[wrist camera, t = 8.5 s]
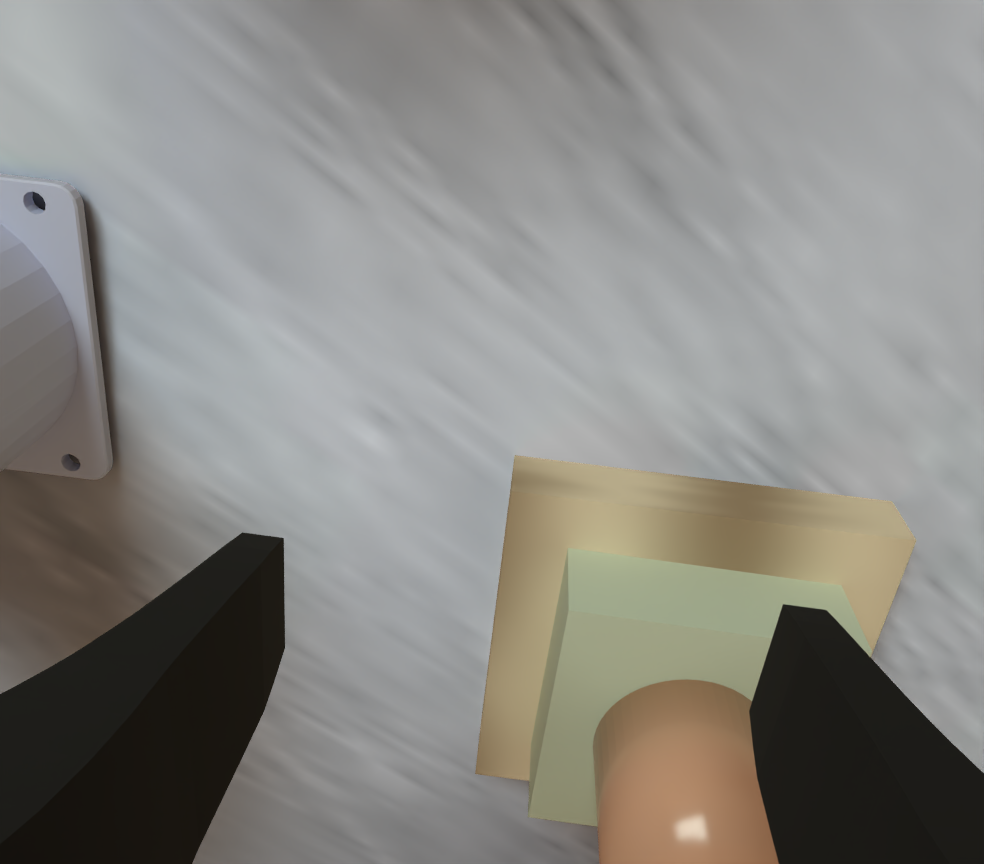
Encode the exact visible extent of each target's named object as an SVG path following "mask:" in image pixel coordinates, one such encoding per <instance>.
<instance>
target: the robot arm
mask: <svg viewBox="0 0 984 864" xmlns="http://www.w3.org/2000/svg"><path fill="white" fill-rule="evenodd" d="M33 192H36V193H38V194H40V195H41V196H42V197H43V199H44V201H45V204H46V206H45V210H42V209H39V208H38V207H37V206H36V205H35V204H34V201H33V199H32V196H33ZM68 454H71V455H74V456H75V457H76V458H78V459H79V462H80V464H77V463H74V462H73V461H72V460H71V459H70V457H69V455H68ZM112 466H113V456H112V447H111V439H110V430H109V421H108V412H107V404H106V395H105V386H104V377H103V369H102V360H101V351H100V342H99V334H98V325H97V316H96V307H95V298H94V290H93V281H92V272H91V263H90V255H89V246H88V237H87V228H86V220H85V211H84V204H83V200H82V197H81V195H80V194H79V192H78V191H77V190H76V189H75V188H74V187H73V186H71V185H70V184H69V183H66V182H63V181H58V180H50V179H41V178H33V177H24V176H16V175H8V174H0V472H1V471H2V470H3V469H8V470H16V471H24V472H32V473H40V474H48V475H56V476H64V477H72V478H80V479H88V480H99V479H101V478H103V477H104V476H105V475H106V474H107V473H108V472H109V471H110V470H111V468H112ZM284 649H285V615H284V538H279V537H271V536H264V535H256V534H249V533H241V534H240V535H239V536H237V537H236V538H235V539H233V540H232V541H230V542H229V543H228V544H226V545H225V546H224V547H222V548H221V549H220V550H218V551H217V552H216V553H214V554H213V555H212V556H211V557H209V558H208V559H207V560H205V561H204V562H203V563H201V564H200V565H199V566H198V567H196V568H195V569H194V570H192V571H191V572H190V573H188V574H187V575H186V576H185V577H183V578H182V579H181V580H179V581H178V582H177V583H175V584H174V585H173V586H171V587H170V588H169V589H167V590H166V591H165V592H163V593H162V594H160V595H159V596H158V597H156V598H155V599H154V600H152V601H151V602H150V603H148V604H147V605H145V606H144V607H143V608H141V609H140V610H139V611H137V612H136V613H134V614H133V615H132V616H130V617H129V618H127V619H126V620H124V621H123V622H121V623H120V624H118V625H117V626H115V627H114V628H112V629H111V630H109V631H108V632H106V633H105V634H103V635H102V636H100V637H99V638H97V639H95V640H94V641H92V642H91V643H89V644H88V645H86V646H85V647H83V648H82V649H80V650H78V651H77V652H75V653H74V654H72V655H70V656H69V657H67V658H65V659H64V660H62V661H60V662H58V663H57V664H55V665H53V666H52V667H50V668H48V669H46V670H44V671H43V672H41V673H39V674H37V675H35V676H33V677H32V678H30V679H28V680H26V681H24V682H23V683H21V684H19V685H17V686H15V687H13V688H11V689H9V690H8V691H6V692H4V693H2V694H0V864H192V862H193V860H194V858H195V855H196V853H197V851H198V848H199V846H200V844H201V842H202V840H203V838H204V836H205V834H206V832H207V830H208V828H209V825H210V823H211V821H212V819H213V817H214V815H215V813H216V811H217V809H218V807H219V805H220V803H221V800H222V798H223V796H224V794H225V792H226V790H227V788H228V786H229V784H230V782H231V780H232V778H233V775H234V773H235V771H236V769H237V767H238V765H239V763H240V761H241V759H242V757H243V755H244V752H245V750H246V748H247V746H248V744H249V742H250V740H251V738H252V735H253V733H254V731H255V729H256V727H257V725H258V723H259V721H260V718H261V716H262V714H263V712H264V710H265V707H266V704H267V701H268V698H269V695H270V692H271V689H272V686H273V683H274V680H275V677H276V674H277V671H278V668H279V665H280V661H281V658H282V655H283V652H284ZM749 715H750V724H751V733H752V742H753V751H754V758H755V766H756V773H757V779H758V783H759V788H760V792H761V796H762V800H763V804H764V808H765V812H766V816H767V820H768V824H769V828H770V832H771V835H772V839H773V843H774V847H775V851H776V855H777V858H778V862H779V864H984V773H983V772H982V771H981V770H979V769H978V768H977V767H976V766H975V765H974V764H973V763H972V762H971V761H970V760H969V759H968V758H967V757H966V756H965V755H964V754H963V753H962V752H961V751H960V750H958V749H957V748H956V747H955V746H954V745H953V744H952V743H951V742H950V741H949V740H948V739H947V738H946V737H945V736H944V735H943V734H942V733H941V732H940V731H939V730H938V729H937V728H936V727H935V726H934V725H933V724H932V723H931V722H930V721H929V720H928V719H927V718H926V717H925V716H924V715H923V713H922V712H921V711H920V710H919V709H918V708H917V707H916V706H915V705H914V704H913V703H912V702H911V701H910V700H909V699H908V698H907V697H906V696H905V695H904V694H903V692H902V691H901V690H900V689H899V688H898V687H897V686H896V685H895V684H894V683H893V682H892V681H891V679H890V678H889V677H888V676H887V675H886V674H885V673H884V672H883V671H882V670H881V669H880V667H879V666H878V665H877V664H876V663H875V662H874V661H873V660H872V659H871V658H870V656H869V655H868V654H867V653H866V652H865V651H864V650H863V649H862V648H861V646H860V645H859V644H858V643H857V642H856V641H855V640H854V639H853V638H852V637H851V635H850V634H849V633H848V632H847V631H846V630H845V629H844V628H843V627H842V626H841V625H840V624H839V622H838V621H837V620H836V619H835V618H834V617H833V616H832V615H831V614H830V613H829V612H828V611H827V610H824V609H816V608H808V607H801V606H793V605H786V604H783V606H782V609H781V612H780V615H779V618H778V622H777V625H776V628H775V631H774V634H773V637H772V640H771V643H770V647H769V650H768V653H767V656H766V659H765V662H764V665H763V669H762V672H761V675H760V678H759V681H758V684H757V687H756V691H755V694H754V697H753V700H752V703H751V706H750V709H749Z"/></svg>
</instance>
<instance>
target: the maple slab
mask: <svg viewBox="0 0 984 864" xmlns="http://www.w3.org/2000/svg"><path fill="white" fill-rule="evenodd" d="M915 543H916V539H915V538H914V536H913V534H912V533H911V531H910V530H909V528H908V526H907V525H906V523H905V522H904V520H903V518H902V517H901V515H900V513H899V512H898V510H897V509H896V507H895V505H894V504H893V502H892V501H884V500H876V499H868V498H859V497H851V496H843V495H835V494H827V493H819V492H810V491H802V490H794V489H786V488H778V487H770V486H761V485H753V484H745V483H737V482H729V481H721V480H712V479H704V478H696V477H688V476H680V475H672V474H663V473H655V472H647V471H639V470H631V469H622V468H614V467H606V466H598V465H590V464H582V463H573V462H565V461H557V460H549V459H541V458H533V457H524V456H516V455H515V457H514V465H513V473H512V481H511V489H510V497H509V505H508V513H507V521H506V529H505V537H504V545H503V553H502V561H501V569H500V577H499V585H498V593H497V601H496V608H495V616H494V624H493V632H492V640H491V648H490V656H489V664H488V672H487V680H486V688H485V696H484V704H483V712H482V720H481V728H480V736H479V745H478V754H477V763H476V772H475V774H480V775H488V776H495V777H503V778H511V779H519V780H527V781H529V777H530V752H531V741H532V736H533V730H534V725H535V720H536V714H537V709H538V704H539V699H540V693H541V688H542V683H543V677H544V672H545V667H546V662H547V656H548V651H549V646H550V640H551V635H552V630H553V625H554V619H555V614H556V609H557V603H558V598H559V593H560V588H561V582H562V577H563V572H564V566H565V561H566V556H567V550H568V548H573V549H580V550H588V551H595V552H602V553H609V554H617V555H624V556H631V557H639V558H646V559H653V560H661V561H668V562H675V563H683V564H690V565H697V566H704V567H712V568H719V569H726V570H733V571H740V572H748V573H755V574H762V575H769V576H777V577H784V578H791V579H798V580H806V581H813V582H820V583H827V584H835V585H842V587H843V590H844V592H845V594H846V596H847V598H848V600H849V603H850V605H851V607H852V609H853V611H854V613H855V616H856V618H857V620H858V622H859V624H860V626H861V629H862V631H863V633H864V635H865V637H866V639H867V642H868V644H869V646H870V648H871V650H872V653H873V650H874V648H875V645H876V643H877V640H878V637H879V635H880V632H881V630H882V627H883V625H884V622H885V619H886V617H887V614H888V612H889V609H890V607H891V604H892V602H893V599H894V596H895V594H896V591H897V589H898V586H899V584H900V581H901V579H902V576H903V573H904V571H905V568H906V566H907V563H908V561H909V558H910V555H911V553H912V550H913V548H914V545H915ZM871 655H872V654H871ZM870 658H871V657H870Z"/></svg>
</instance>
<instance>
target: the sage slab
mask: <svg viewBox="0 0 984 864" xmlns="http://www.w3.org/2000/svg"><path fill="white" fill-rule="evenodd" d="M783 604H786V605H793V606H801V607H808V608H816V609H824V610H827V611H828V612H829V613H830V614H831V615H832V616H833V617H834V618H835V619H836V620H837V621H838V622H839V624H840V625H841V626H842V627H843V628H844V629H845V630H846V631H847V632H848V633H849V634H850V635H851V637H852V638H853V639H854V640H855V641H856V642H857V643H858V644H859V645H860V646H861V648H862V649H863V650H864V651H865V652H866V653H867V654H868V655H869V656H870V657H871V654H872V650H871V648H870V646H869V644H868V642H867V639H866V637H865V635H864V633H863V631H862V629H861V626H860V624H859V622H858V620H857V618H856V616H855V613H854V611H853V609H852V607H851V605H850V603H849V600H848V598H847V596H846V594H845V592H844V590H843V587H842V585H835V584H827V583H820V582H813V581H806V580H798V579H791V578H784V577H777V576H769V575H762V574H755V573H748V572H740V571H733V570H726V569H719V568H712V567H704V566H697V565H690V564H683V563H675V562H668V561H661V560H653V559H646V558H639V557H631V556H624V555H617V554H609V553H602V552H595V551H588V550H580V549H573V548H568V550H567V556H566V561H565V566H564V572H563V577H562V582H561V588H560V593H559V598H558V603H557V609H556V614H555V619H554V625H553V630H552V635H551V640H550V646H549V651H548V656H547V662H546V667H545V672H544V677H543V683H542V688H541V693H540V699H539V704H538V709H537V714H536V720H535V725H534V730H533V736H532V741H531V752H530V777H529V802H528V817H531V818H538V819H545V820H553V821H560V822H567V823H574V824H581V825H588V826H596V827H597V811H596V794H595V777H594V759H593V739H594V735H595V731H596V729H597V727H598V724H599V722H600V721H601V719H602V718H603V716H604V715H605V713H606V712H607V711H608V710H609V709H610V708H611V707H612V706H613V705H614V704H615V703H617V702H618V701H619V700H620V699H622V698H623V697H625V696H626V695H628V694H630V693H632V692H634V691H636V690H638V689H640V688H643V687H645V686H648V685H651V684H655V683H659V682H664V681H671V680H687V679H688V680H701V681H707V682H713V683H716V684H720V685H723V686H726V687H728V688H731V689H733V690H735V691H737V692H739V693H741V694H742V695H744V696H745V697H747V698H748V699H750V700H751V701H752V700H753V697H754V694H755V691H756V687H757V684H758V681H759V678H760V675H761V672H762V669H763V665H764V662H765V659H766V656H767V653H768V650H769V647H770V643H771V640H772V637H773V634H774V631H775V628H776V625H777V622H778V618H779V615H780V612H781V609H782V606H783Z"/></svg>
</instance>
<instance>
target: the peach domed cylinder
mask: <svg viewBox="0 0 984 864" xmlns="http://www.w3.org/2000/svg"><path fill="white" fill-rule="evenodd" d="M751 703H752V701H751V700H750V699H748V698H747V697H745V696H744V695H742V694H741V693H739V692H737V691H735V690H733V689H731V688H728V687H726V686H723V685H720V684H716V683H713V682H707V681H701V680H688V679H687V680H671V681H664V682H659V683H655V684H651V685H648V686H645V687H643V688H640V689H638V690H636V691H634V692H632V693H630V694H628V695H626V696H625V697H623V698H622V699H620V700H619V701H618V702H617V703H615V704H614V705H613V706H612V707H611V708H610V709H609V710H608V711H607V712H606V713H605V715H604V716H603V718H602V719H601V721H600V722H599V724H598V727H597V729H596V731H595V735H594V739H593V759H594V777H595V794H596V811H597V828H598V846H599V863H600V864H779V862H778V858H777V855H776V851H775V847H774V843H773V839H772V835H771V832H770V828H769V824H768V820H767V816H766V812H765V808H764V804H763V800H762V796H761V792H760V788H759V783H758V779H757V773H756V766H755V758H754V751H753V742H752V733H751V724H750V715H749V709H750V706H751Z"/></svg>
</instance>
